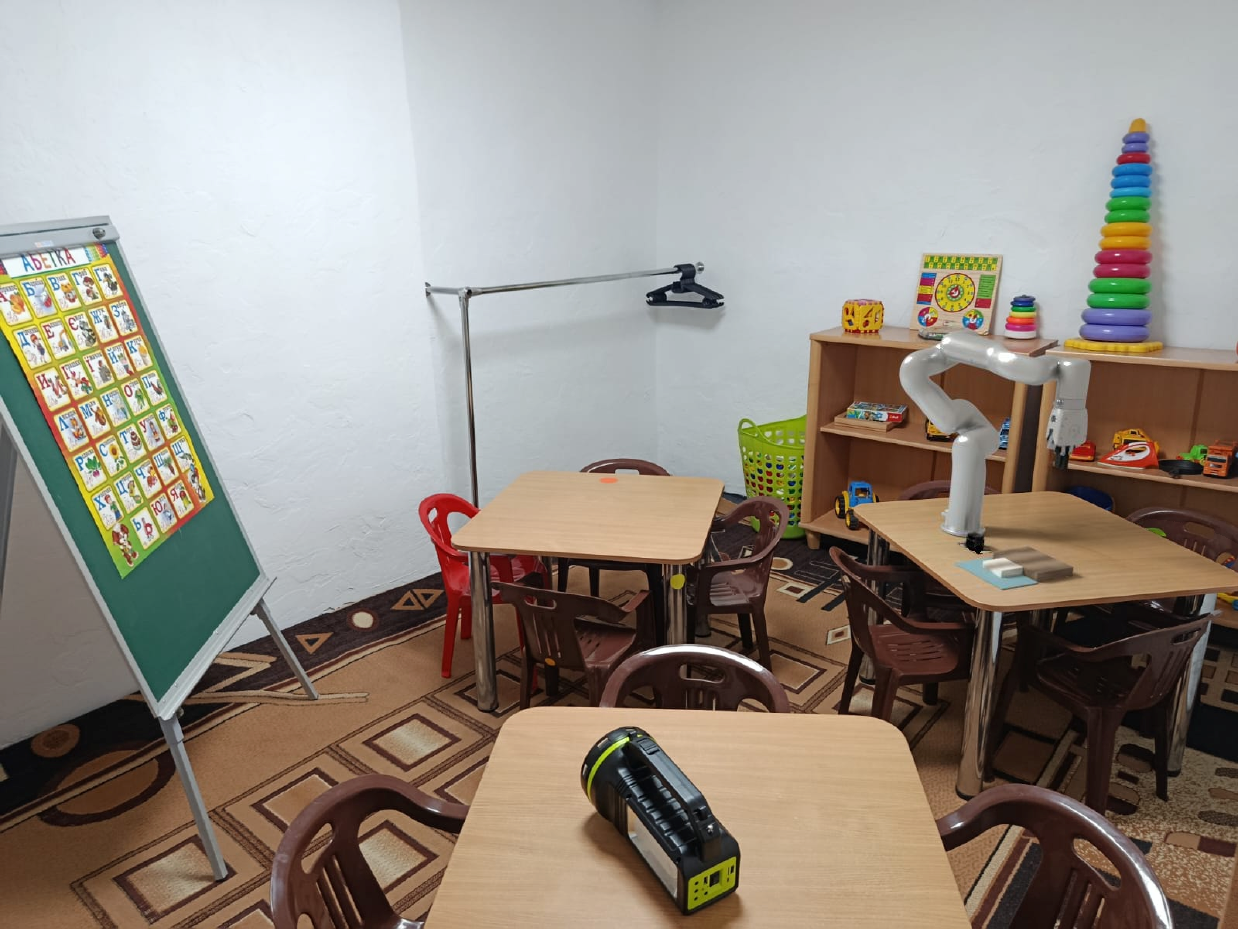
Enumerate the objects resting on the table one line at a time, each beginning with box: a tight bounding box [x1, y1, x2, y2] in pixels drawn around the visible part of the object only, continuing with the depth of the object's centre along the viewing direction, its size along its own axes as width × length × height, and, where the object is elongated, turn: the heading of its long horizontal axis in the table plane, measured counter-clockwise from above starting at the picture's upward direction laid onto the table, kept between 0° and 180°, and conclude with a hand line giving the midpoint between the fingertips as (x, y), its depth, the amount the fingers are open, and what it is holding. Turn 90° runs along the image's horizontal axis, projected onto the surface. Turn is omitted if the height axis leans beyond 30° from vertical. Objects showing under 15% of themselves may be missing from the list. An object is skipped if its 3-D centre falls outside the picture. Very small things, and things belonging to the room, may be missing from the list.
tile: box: [982, 558, 1023, 577], centre depth 225 cm, size 7×7×2 cm
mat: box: [954, 557, 1039, 591], centre depth 224 cm, size 18×12×1 cm, turn 18°
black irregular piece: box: [957, 532, 990, 556], centre depth 242 cm, size 12×7×5 cm, turn 18°
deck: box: [992, 545, 1074, 583], centre depth 227 cm, size 16×12×2 cm
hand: (1060, 467), depth 232 cm, fingers closed
